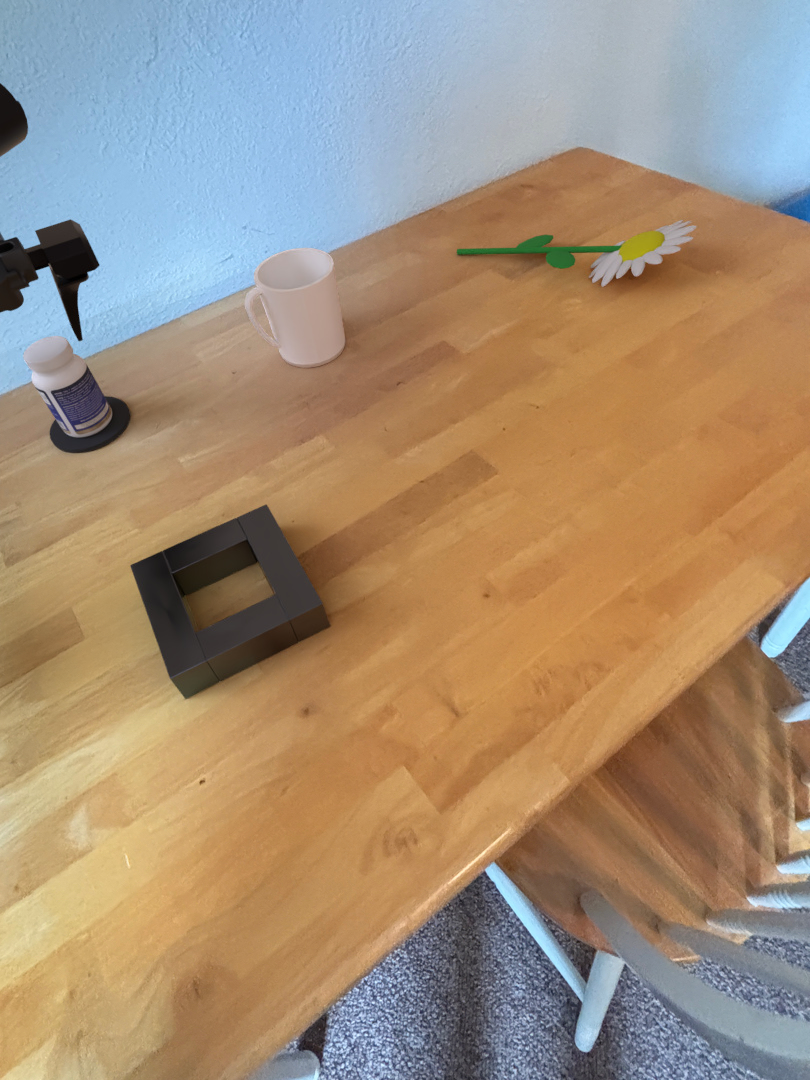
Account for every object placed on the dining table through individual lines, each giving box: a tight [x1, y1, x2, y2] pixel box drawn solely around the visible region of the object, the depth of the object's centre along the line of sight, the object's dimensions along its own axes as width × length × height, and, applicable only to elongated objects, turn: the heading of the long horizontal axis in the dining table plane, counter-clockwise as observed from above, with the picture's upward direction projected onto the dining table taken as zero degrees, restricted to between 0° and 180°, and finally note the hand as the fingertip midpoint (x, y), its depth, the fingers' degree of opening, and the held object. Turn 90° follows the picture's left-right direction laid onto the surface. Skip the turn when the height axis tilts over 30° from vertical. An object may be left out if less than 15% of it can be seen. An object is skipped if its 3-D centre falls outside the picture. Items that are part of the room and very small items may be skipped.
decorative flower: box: [456, 219, 698, 288], centre depth 89 cm, size 13×5×30 cm
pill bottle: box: [22, 335, 112, 437], centre depth 76 cm, size 6×6×10 cm
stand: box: [129, 504, 332, 700], centre depth 61 cm, size 13×13×4 cm
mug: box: [244, 247, 347, 369], centre depth 81 cm, size 11×9×10 cm
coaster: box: [49, 395, 132, 454], centre depth 80 cm, size 9×9×1 cm
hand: (34, 355), depth 70 cm, fingers open, 9 cm apart
